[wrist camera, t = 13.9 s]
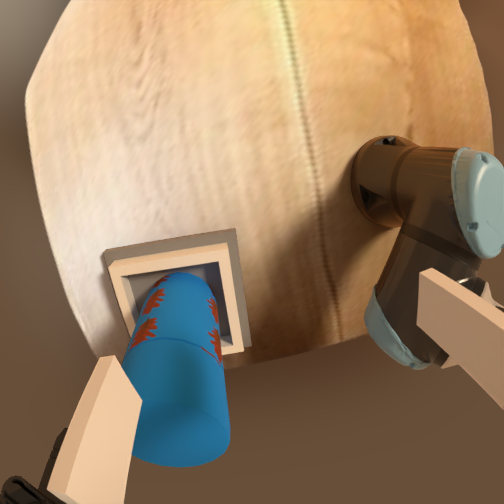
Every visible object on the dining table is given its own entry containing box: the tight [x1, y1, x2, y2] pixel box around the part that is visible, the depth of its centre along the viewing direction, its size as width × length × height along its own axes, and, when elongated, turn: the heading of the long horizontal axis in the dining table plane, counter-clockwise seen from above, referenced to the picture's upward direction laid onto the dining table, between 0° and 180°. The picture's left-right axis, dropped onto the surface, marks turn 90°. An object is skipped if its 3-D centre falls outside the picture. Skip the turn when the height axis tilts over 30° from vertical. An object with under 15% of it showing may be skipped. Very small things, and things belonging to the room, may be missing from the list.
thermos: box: [121, 272, 230, 467], centre depth 31 cm, size 11×11×25 cm
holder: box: [103, 228, 252, 355], centre depth 42 cm, size 20×20×4 cm
